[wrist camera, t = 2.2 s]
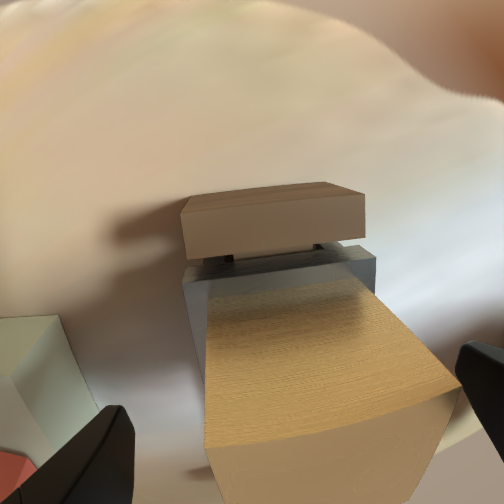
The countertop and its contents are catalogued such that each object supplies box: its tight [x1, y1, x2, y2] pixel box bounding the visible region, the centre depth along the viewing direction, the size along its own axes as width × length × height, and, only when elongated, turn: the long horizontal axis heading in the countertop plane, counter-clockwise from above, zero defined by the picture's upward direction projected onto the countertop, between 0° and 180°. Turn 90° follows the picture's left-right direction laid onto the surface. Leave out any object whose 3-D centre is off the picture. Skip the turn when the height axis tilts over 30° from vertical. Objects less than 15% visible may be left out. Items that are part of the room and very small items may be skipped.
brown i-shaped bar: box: [180, 182, 365, 261], centre depth 12 cm, size 15×5×3 cm, turn 6°
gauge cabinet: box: [0, 315, 100, 469], centre depth 11 cm, size 6×7×4 cm
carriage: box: [182, 241, 462, 504], centre depth 8 cm, size 5×5×8 cm
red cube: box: [0, 451, 37, 502], centre depth 7 cm, size 3×3×3 cm
